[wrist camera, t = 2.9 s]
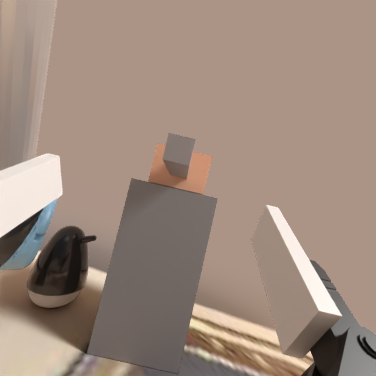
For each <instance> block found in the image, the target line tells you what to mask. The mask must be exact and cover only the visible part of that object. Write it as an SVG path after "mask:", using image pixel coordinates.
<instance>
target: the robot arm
mask: <svg viewBox="0 0 376 376" xmlns="http://www.w3.org/2000/svg"><path fill="white" fill-rule="evenodd" d="M56 6H57V0H0V270H19V269H23V268H25V267H27V266H28V265H29V264H31V262H32V261H33V260H34V258H35V256H36V255H37V252H38V250H39V248H40V246H41V244H42V241H43V238H44V235H45V233H46V231H47V229H48V226H49V224H50V221H51V218H52V215H53V212H54V209H55V206H56V202H57V198H58V197H60V196H61V195H62V194H63V192H62V180H61V170H60V157H59V156H56V155H53V154H48V153H47V154H44V155H42V156H39V157H36V151H37V144H38V137H39V129H40V121H41V115H42V107H43V100H44V93H45V85H46V78H47V71H48V64H49V57H50V50H51V42H52V35H53V28H54V19H55V13H56ZM251 242H252V245H253V249H254V252H255V256H256V259H257V263H258V267H259V270H260V274H261V278H262V281H263V285H264V288H265V292H266V296H267V299H268V303H269V306H270V310H271V314H272V317H273V321H274V324H275V328H276V332H277V335H278V339H279V342H280V346H281V350H282V353H283V354H285V355H289V356H293V357H298V358H303V357H304V356H305V355H306V354H307V353H308V352H309V351H311V354H312V356H313V359H314V361H315V362H314V363H313V364H312V365H311V366H310V367H309V368H308V369H307V370H306V371H305V372H304V373H303V374H302V375H301V376H376V335H375V334H374V333H373V332H371V331H369V330H368V329H366V328H364V327H361V326H360V325H359V324H358V322H357V321H356V319H355V318H354V316H353V314H352V313H351V311H350V310H349V308H348V307H347V305H346V304H345V302H344V301H343V299H342V297H341V296H340V294H339V293H338V292H337V291H336V288H335V286H334V285H333V283H331V280H330V279H329V277H328V276H327V274H326V272H325V271H324V270H323V269H322V268H321V267H320V266H319V265H318V264H317V263H316V262H315V261H312V260H309V259H308V258H307V256H306V254H305V252H304V251H303V249H302V247H301V245H300V244H299V242H298V240H297V239H296V237H295V235H294V234H293V232H292V230H291V229H290V227H289V225H288V224H287V222H286V220H285V218H284V217H283V215H282V214H281V212H280V210H279V208H277V207H273V206H269V205H266V206H265V208H264V211H263V213H262V215H261V217H260V219H259V221H258V224H257V226H256V228H255V230H254V233H253V235H252V237H251Z"/></svg>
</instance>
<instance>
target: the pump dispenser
mask: <svg viewBox="0 0 376 376" xmlns="http://www.w3.org/2000/svg"><path fill="white" fill-rule="evenodd" d="M95 240H96V236H95V235H93V236H85V234H84V232H83V230H82V229H81V228H79V227H76V226H66V227H63V228H61V229H60V230H58V231H57V232H56V233H55V234H54V235H53V236H52V237H51V239H50V240H49V241H48V243H47V244H46V245H45V247H44V248H43V250H42V251H41V253H40V254H39V256H38V258H37V260H36V261H35V263H34V266H33V268H32V270H31V272H30V275H29V277H28V280H27V288H28V294H29V297H30V299H31V300H32V302H33V303H35V304H36V305H38V306H41V307H46V308H55V307H60V306H63V305H66V304H68V303H69V302H71V301H72V300H74V299H75V298H76V297H77V296H78V294H79V293H80V292H81V290H82V288H83V287H84V286H85V284H86V280H87V275H88V266H89V252H88V244H87V242H91V241H95Z"/></svg>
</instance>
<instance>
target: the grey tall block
mask: <svg viewBox="0 0 376 376" xmlns="http://www.w3.org/2000/svg"><path fill="white" fill-rule="evenodd" d="M216 203H217V198H213V197H209V196H205V195H201V194H196V193H192V192H188V191H184V190H179V189H175V188H171V187H167V186H162V185H158V184H154V183H150V182H145V181H141V180H137V179H133V178H132V179H131V182H130V186H129V191H128V194H127V198H126V202H125V206H124V210H123V214H122V218H121V222H120V226H119V230H118V233H117V237H116V242H115V245H114V249H113V253H112V257H111V261H110V265H109V269H108V272H107V276H106V280H105V284H104V288H103V292H102V296H101V300H100V304H99V308H98V312H97V316H96V320H95V323H94V327H93V331H92V335H91V339H90V343H89V347H88V351H87V354H91V355H96V356H100V357H105V358H109V359H114V360H118V361H122V362H127V363H131V364H136V365H140V366H145V367H149V368H154V369H158V370H162V371H167V372H171V373H176V374H178V373H179V368H180V364H181V360H182V355H183V351H184V346H185V342H186V337H187V333H188V328H189V324H190V319H191V315H192V310H193V306H194V302H195V297H196V292H197V288H198V283H199V279H200V275H201V270H202V266H203V261H204V257H205V252H206V248H207V243H208V239H209V235H210V230H211V226H212V221H213V217H214V212H215V208H216Z"/></svg>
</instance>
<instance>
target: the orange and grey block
mask: <svg viewBox="0 0 376 376" xmlns="http://www.w3.org/2000/svg"><path fill="white" fill-rule="evenodd" d="M194 144H195V139H192V138H188V137H183V136H179V135H175V134H171V133H169V134H168V139H167V143H166V145H163V144H158V145H157V148H156V152H155V157H154V160H153V164H152V168H151V172H150V176H149V180H148V181H149V182H150V183H154V184H158V185H162V186H167V187H171V188H175V189H179V190H184V191H188V192H192V193H196V194H201V195H203V194H204V190H205V186H206V181H207V176H208V172H209V168H210V164H211V159H212V156H209V155H204V154H200V153H196V152H193V149H194Z"/></svg>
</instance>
